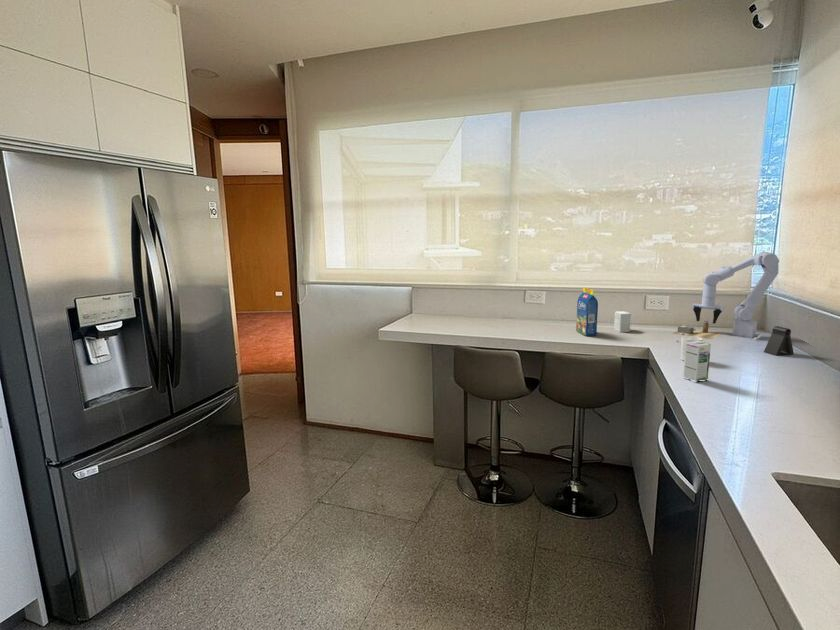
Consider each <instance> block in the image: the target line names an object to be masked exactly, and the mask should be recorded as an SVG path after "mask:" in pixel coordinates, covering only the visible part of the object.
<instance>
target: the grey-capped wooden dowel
mask: <svg viewBox="0 0 840 630" xmlns="http://www.w3.org/2000/svg"><path fill="white" fill-rule="evenodd" d="M709 327H710V325H709V320H708V321H707V320H704V322H703V325H702V331H703V333H708V332H709Z"/></svg>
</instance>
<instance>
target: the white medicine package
mask: <svg viewBox="0 0 840 630" xmlns="http://www.w3.org/2000/svg"><path fill="white" fill-rule="evenodd" d="M680 338H681V339H680V360H681V359H683V360H685V351H686V343H687V342H696V341H701V342H704V341H703V340H704V338H700V337H695V336H687V335H681V337H680Z"/></svg>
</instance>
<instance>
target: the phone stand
mask: <svg viewBox="0 0 840 630" xmlns="http://www.w3.org/2000/svg"><path fill="white" fill-rule="evenodd" d="M791 333H792V330H791V329H790V328H789V327H788V328H787V327H783V326H778V325H776V326H775V325H774V326H773V327H772V332H771V335H770V337H769V339H768V341H767V343H766V346H765V348H764V350H763V353H765V354H769V355H772V356H774V357H779V356H793V355H794V354H795V353H794V348H793V343H792V337H791V335H792V334H791Z"/></svg>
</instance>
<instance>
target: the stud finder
mask: <svg viewBox="0 0 840 630" xmlns="http://www.w3.org/2000/svg"><path fill="white" fill-rule="evenodd" d="M694 329H695V327H694V326H688V325H680V326H678V327H677V331H678V332H680V333H686V334H691V333H693V332H694Z"/></svg>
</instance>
